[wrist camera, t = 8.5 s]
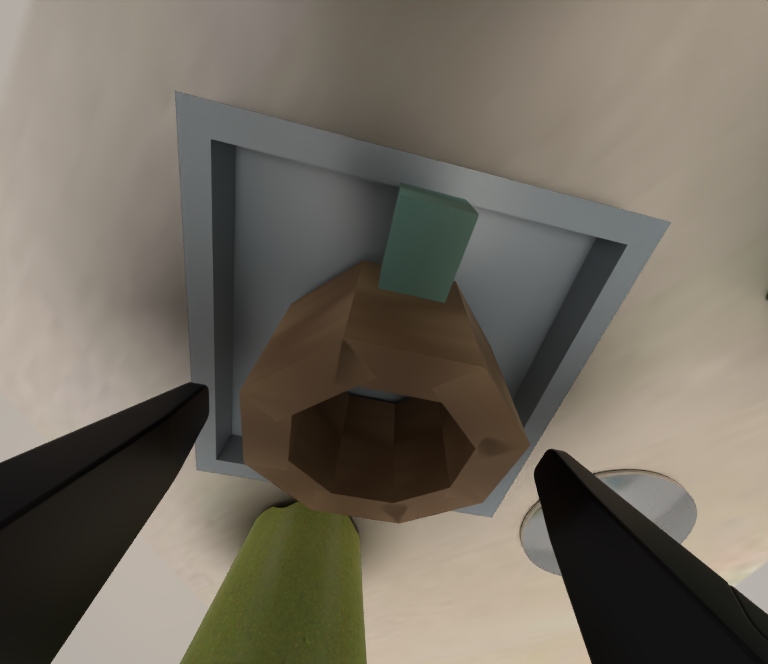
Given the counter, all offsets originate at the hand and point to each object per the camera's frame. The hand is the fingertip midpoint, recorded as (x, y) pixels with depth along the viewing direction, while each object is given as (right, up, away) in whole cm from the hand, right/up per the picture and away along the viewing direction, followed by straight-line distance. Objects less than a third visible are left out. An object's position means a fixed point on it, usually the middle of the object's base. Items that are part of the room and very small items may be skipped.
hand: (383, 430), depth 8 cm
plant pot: (-4, -9, +10) cm, 14 cm away
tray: (0, +2, +4) cm, 5 cm away
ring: (0, +3, +3) cm, 4 cm away
